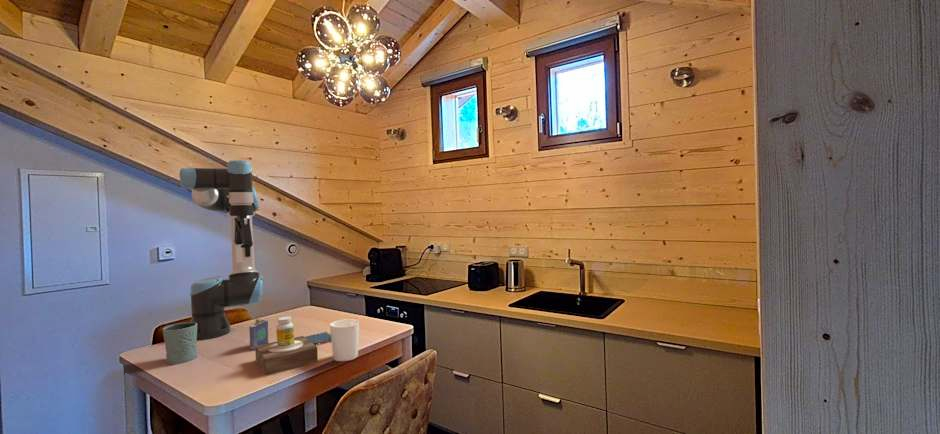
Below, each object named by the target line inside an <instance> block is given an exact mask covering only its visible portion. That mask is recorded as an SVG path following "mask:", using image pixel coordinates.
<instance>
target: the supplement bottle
mask: <svg viewBox="0 0 940 434" xmlns="http://www.w3.org/2000/svg"><path fill="white" fill-rule="evenodd" d="M277 323H278V324H277V325H276V339H277V340H276V342H277V346H278V347H279V348H288V347H291V346H293V345H294V338H295V330H294V329H295V328H294V327H295V326H294V323H293V322H292V317H291V316H282V317H279V318H278V319H277Z"/></svg>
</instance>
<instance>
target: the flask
mask: <svg viewBox="0 0 940 434" xmlns="http://www.w3.org/2000/svg"><path fill="white" fill-rule="evenodd" d="M254 321H255V322H254V323H253V324H251V325H250V326H249V328H248V329H249V349H250V351H255V346H258V345H263V344H267V343H269V320H268V319H260V318H254Z"/></svg>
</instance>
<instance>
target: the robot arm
mask: <svg viewBox="0 0 940 434" xmlns="http://www.w3.org/2000/svg"><path fill="white" fill-rule="evenodd" d="M179 170H180V171H179V183H180V188H181V189H183V190H191V199H192V201H193V202H194V203H195V204H196V205H197V206H198V207H201V208H203V209H205V210H209V211H213V212H226V216H227V217H228V218H229V219H230V235H231V237H230V238H231V239H230V240H231V242H230V243H231V258H232V259H231V260H232V271H230V273H229V274H228V279H224V277H223V276H212V277H208V278H203V279H199V280H196V281H194V282H192V283H191V285H190V293H189V295H190V302H191V303H190V304H191V305H190V306H191V307H190V308H191V320H190V322H196V323H197V341H198V340H199V341H200V340H207V339H214V338H217V337H222V336H224V335H227V334H229V333H230V332H231V325H230V323H229V320H228V317H227V315H226V314H225V308H230V307H239V306H245V305H251V304H257V303H259V302H260V301H261V299H262V295H263V294H262V292H263V285H264V280H263V279H264V277H263V275H260V272H259V271H258V270H257V269H256V267H255V266H256V265H255V263H256V262H255V249H254V232H253V231H254V230H253V217H254V216H255V215H256V211H258V210H259V209H260V208H259V207H260V205H259V201H258V200H259V199H258V196H257V195H258V194H257V191H256V188H255V187H254V186H253V168H252V163H251V161H248V160H235V159H233V160H228V162H227V168H222V167H221V168H218V167H217V168H216V167H215V168H212V167H211V168H209V167H206V168H205V167H204V168H203V167H202V168H201V167H185V168H184V167H183V168H181V169H179Z"/></svg>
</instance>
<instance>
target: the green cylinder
mask: <svg viewBox="0 0 940 434" xmlns="http://www.w3.org/2000/svg"><path fill="white" fill-rule="evenodd" d="M162 334H163V335H162V336H163V340H164V341H163V342H164V345H165V346H164V347H165V348H164V349H165V351H166V353H165V357H166V363H167V364H169V365H179V364H184V363H188V362H190V361H191V362H192V361H193V360H195V359H197V356H198V354H197V352H198V349H197V343H198V340H197V323H196V322H191V321H186V322H185V321H184V322H177V323H174V324H173V323H172V324H170V325H165V326H164V327H163V328H162Z"/></svg>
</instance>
